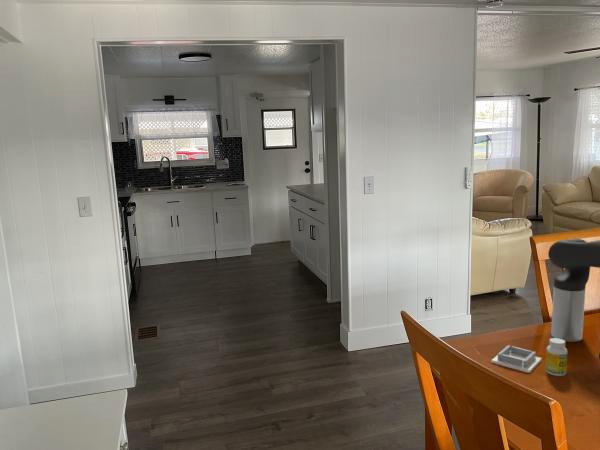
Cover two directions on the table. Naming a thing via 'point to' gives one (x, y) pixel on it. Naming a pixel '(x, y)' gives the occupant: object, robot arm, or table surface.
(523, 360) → the caddy
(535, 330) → the table surface
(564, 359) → the supplement bottle
